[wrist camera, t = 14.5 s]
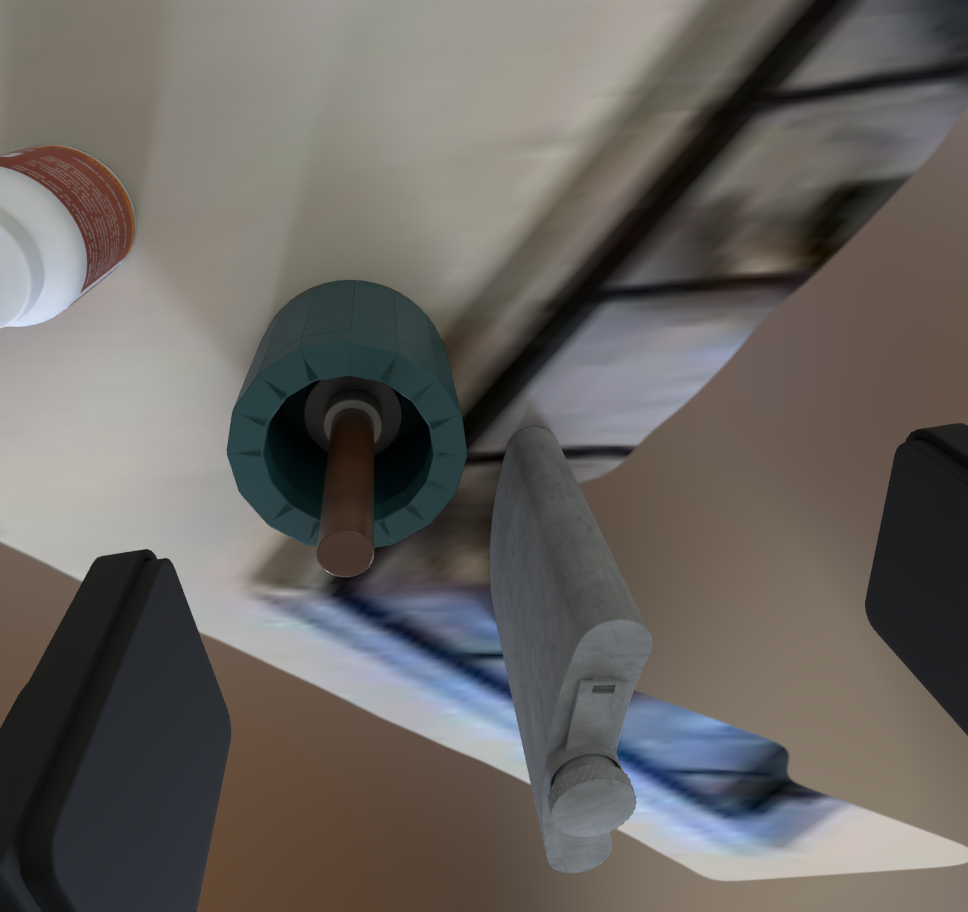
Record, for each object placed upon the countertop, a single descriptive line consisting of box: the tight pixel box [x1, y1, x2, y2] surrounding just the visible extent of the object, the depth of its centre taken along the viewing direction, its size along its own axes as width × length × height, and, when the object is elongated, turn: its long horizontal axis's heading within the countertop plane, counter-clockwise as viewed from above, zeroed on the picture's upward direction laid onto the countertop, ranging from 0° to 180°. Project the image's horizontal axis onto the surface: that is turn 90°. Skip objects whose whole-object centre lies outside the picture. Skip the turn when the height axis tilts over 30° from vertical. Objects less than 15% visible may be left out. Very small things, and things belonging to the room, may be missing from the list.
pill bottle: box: [0, 145, 136, 328], centre depth 31 cm, size 6×6×11 cm
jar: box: [227, 280, 467, 548], centre depth 37 cm, size 10×10×10 cm
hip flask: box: [490, 427, 652, 873], centre depth 39 cm, size 16×4×20 cm, turn 177°
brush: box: [303, 376, 403, 577], centre depth 33 cm, size 5×5×17 cm
